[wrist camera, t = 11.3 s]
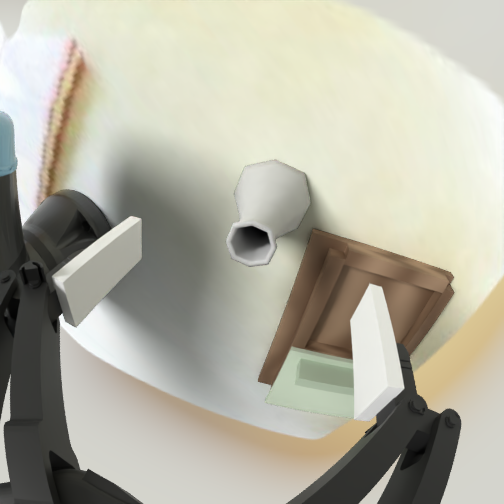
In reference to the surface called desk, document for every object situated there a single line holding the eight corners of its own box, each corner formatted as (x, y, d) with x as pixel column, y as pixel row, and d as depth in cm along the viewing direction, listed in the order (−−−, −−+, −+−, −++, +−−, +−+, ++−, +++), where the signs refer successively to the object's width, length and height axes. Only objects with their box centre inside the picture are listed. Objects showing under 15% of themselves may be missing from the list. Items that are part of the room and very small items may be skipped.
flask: (305, 236, 27) (300, 300, 18) (233, 226, 28) (197, 283, 20) (315, 164, 24) (318, 196, 15) (236, 155, 25) (194, 182, 16)
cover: (265, 399, 38) (261, 419, 35) (291, 346, 31) (288, 370, 28) (354, 415, 37) (354, 434, 34) (399, 368, 30) (403, 389, 27)
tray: (258, 376, 39) (255, 389, 37) (312, 228, 26) (312, 239, 24) (360, 396, 38) (360, 409, 36) (450, 272, 25) (458, 285, 23)
